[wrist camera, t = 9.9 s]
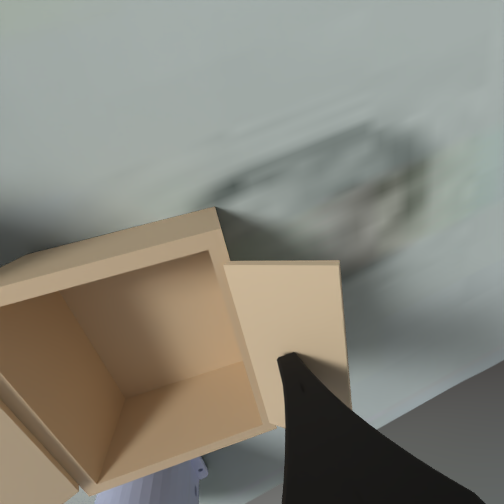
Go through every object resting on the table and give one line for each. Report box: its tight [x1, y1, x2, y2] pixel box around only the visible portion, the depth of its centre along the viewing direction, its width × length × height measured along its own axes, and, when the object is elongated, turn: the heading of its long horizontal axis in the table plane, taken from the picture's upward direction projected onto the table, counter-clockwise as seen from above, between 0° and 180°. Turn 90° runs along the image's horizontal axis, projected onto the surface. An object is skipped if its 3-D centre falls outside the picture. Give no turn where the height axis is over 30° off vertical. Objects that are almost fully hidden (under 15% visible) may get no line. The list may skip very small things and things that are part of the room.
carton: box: [0, 207, 277, 496], centre depth 15 cm, size 14×12×6 cm
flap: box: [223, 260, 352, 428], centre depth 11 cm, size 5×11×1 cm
